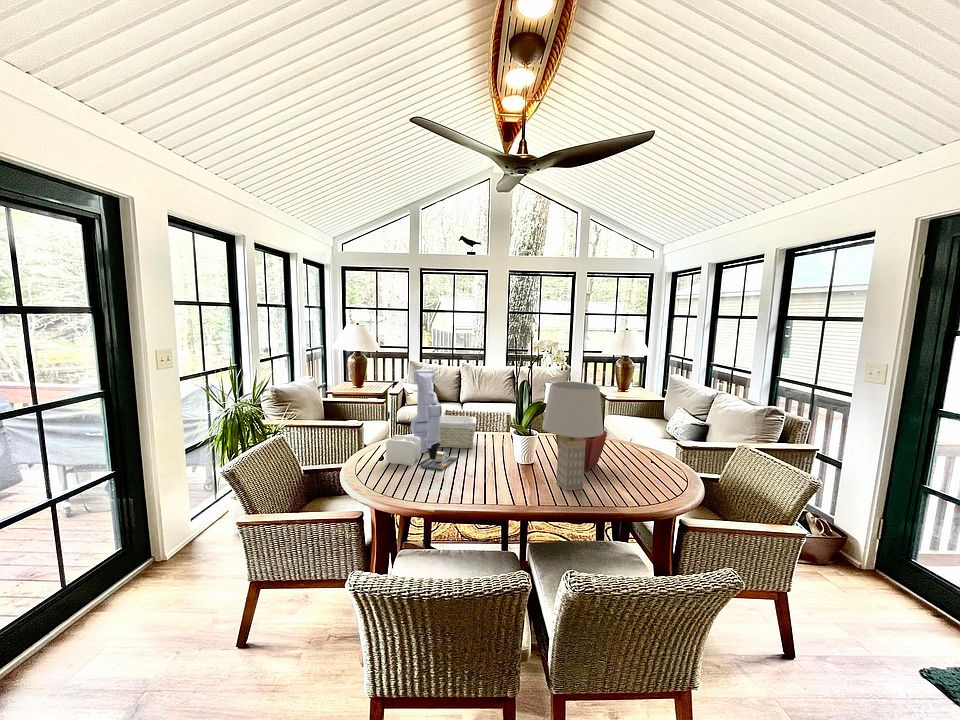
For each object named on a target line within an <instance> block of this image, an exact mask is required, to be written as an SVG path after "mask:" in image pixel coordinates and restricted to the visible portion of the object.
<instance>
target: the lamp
mask: <svg viewBox="0 0 960 720" xmlns="http://www.w3.org/2000/svg"><path fill="white" fill-rule="evenodd" d="M601 399H602V398H601V391H600V386H599V385H597V384H594V383H589V382H581V381H554V382H553V381H552V382H551V383H550V385H549V390H548V396H547V400H546V405H545V410H544V415H543V420H542V427H541V429H542V430H543V431H545V432H547V433H549V434H551V435H555V436H556V435H560V436H558V447H557V465H556V467H557V468H556V485H558V486H559V487H560V488H562V489H563V490H564V492H568V491H567V490H569V491H577V490H576V489H580V490H583V489H584V477H585V474H584V472H585V471H584V459H585V445H586V440H585V439H583V438H588V437H596V436H600V435H602V434H603V431H604V424H603V423H604V422H603V413H602V403H601V401H602V400H601ZM562 489H561V490H562Z"/></svg>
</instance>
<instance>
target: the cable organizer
mask: <svg viewBox="0 0 960 720" xmlns="http://www.w3.org/2000/svg"><path fill="white" fill-rule="evenodd" d="M421 455H422V453H421V439H420V438H419V437H414V435H413V436H411V435H402V434H394V435H393V436H391V438H390V439H388V440H387V441H386V443H385V460H386V462H388V463H389V464H391V465H404V466H412V465H413V464H415V463H416V460H418V459H420V458H421Z"/></svg>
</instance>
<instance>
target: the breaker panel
mask: <svg viewBox="0 0 960 720" xmlns="http://www.w3.org/2000/svg"><path fill="white" fill-rule="evenodd" d="M455 462H458V457H457V456H450V455H449V456H448V455H445V461H443V462H437V461H434V460H431V459H430V460H428V461H426V462H425V463H423V464H422V465H421V466H420V468H421V469H427V470H433V471H437V472H443V471H444V470H446V469H447V468H449V467H450V466H452V464H454V463H455Z"/></svg>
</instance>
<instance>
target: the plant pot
mask: <svg viewBox="0 0 960 720" xmlns="http://www.w3.org/2000/svg"><path fill="white" fill-rule="evenodd" d="M607 435H608V431H606V430H603V434H602V435H600V436H596V437H588V438H583V439H585V440H586V445H585V459H584V472H588V471H589V469H590V470H591V469H593V468H594V467H595V466H597V464H598V463H599V462H600V461H599V460H600V458H601V455H602V453H603V450H604V446H605V443H606V440H607ZM558 436H560V435H555V439H556V440H555V441H556V447H557V448H558ZM592 467H593V468H592Z"/></svg>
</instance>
